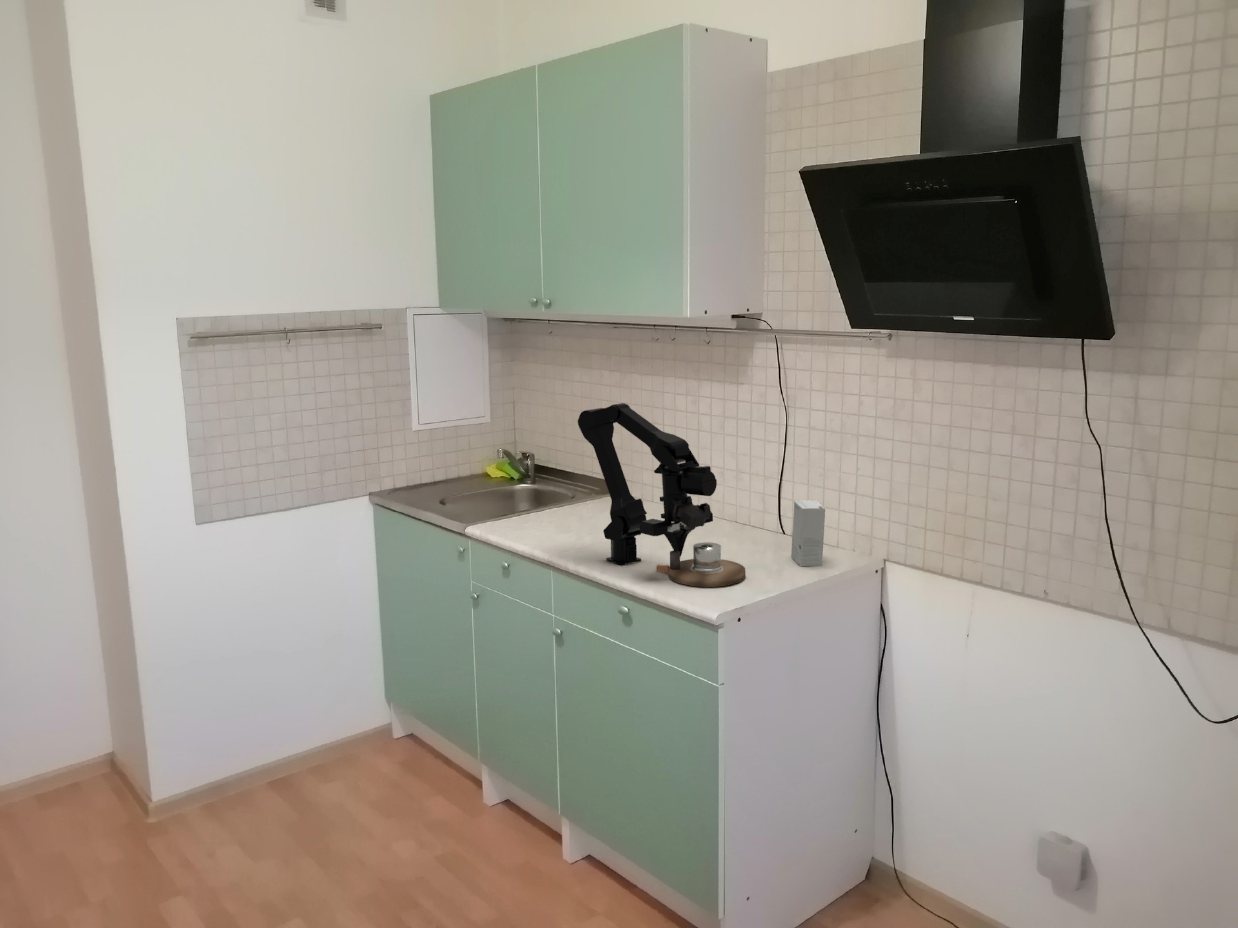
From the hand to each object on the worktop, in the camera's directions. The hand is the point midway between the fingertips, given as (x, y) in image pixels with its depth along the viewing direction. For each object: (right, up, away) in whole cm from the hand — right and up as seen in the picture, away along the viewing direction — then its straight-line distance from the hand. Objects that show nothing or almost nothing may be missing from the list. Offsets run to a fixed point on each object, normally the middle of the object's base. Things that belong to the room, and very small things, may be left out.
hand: (678, 556), depth 232 cm
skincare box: (+32, -2, +8) cm, 33 cm away
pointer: (-4, -4, +2) cm, 6 cm away
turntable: (+6, -4, -2) cm, 8 cm away
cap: (+6, -3, -3) cm, 7 cm away
